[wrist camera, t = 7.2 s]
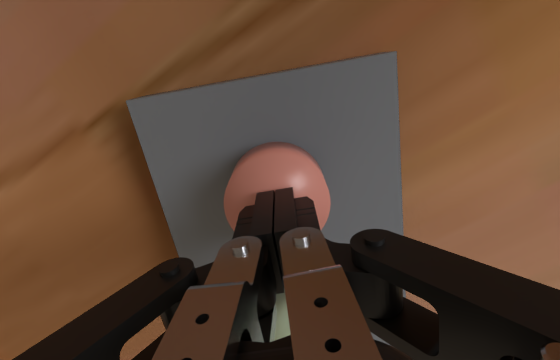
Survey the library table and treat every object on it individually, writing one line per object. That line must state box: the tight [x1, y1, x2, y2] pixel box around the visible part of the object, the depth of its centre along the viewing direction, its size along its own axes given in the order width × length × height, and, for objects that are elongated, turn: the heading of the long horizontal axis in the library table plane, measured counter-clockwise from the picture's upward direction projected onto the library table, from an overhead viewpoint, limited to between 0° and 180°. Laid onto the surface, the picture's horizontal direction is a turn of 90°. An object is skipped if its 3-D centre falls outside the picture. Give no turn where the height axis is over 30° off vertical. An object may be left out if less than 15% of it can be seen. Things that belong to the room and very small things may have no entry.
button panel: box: [126, 51, 406, 346], centre depth 19 cm, size 26×12×2 cm, turn 10°
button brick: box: [224, 142, 331, 231], centre depth 14 cm, size 4×4×2 cm
